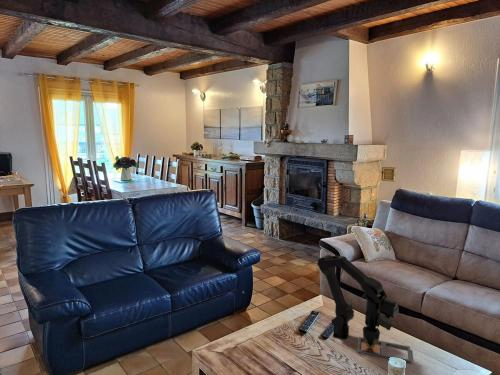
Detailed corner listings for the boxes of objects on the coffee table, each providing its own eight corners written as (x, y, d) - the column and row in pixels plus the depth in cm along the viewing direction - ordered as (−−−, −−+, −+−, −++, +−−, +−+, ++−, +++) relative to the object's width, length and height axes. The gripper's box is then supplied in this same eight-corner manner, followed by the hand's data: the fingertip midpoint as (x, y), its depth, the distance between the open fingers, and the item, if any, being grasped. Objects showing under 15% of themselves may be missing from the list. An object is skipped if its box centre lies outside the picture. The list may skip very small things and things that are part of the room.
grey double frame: (356, 352, 157) (357, 350, 157) (358, 338, 167) (358, 336, 167) (411, 364, 149) (411, 361, 149) (409, 348, 160) (409, 346, 159)
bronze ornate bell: (380, 352, 156) (381, 335, 155) (362, 350, 157) (363, 333, 156) (377, 342, 163) (378, 326, 162) (361, 340, 165) (362, 324, 163)
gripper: (392, 323, 146) (390, 358, 148) (391, 303, 163) (389, 334, 166) (364, 318, 150) (362, 352, 152) (366, 299, 167) (364, 329, 170)
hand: (370, 341), depth 160 cm, fingers closed on bronze ornate bell, 6 cm apart
